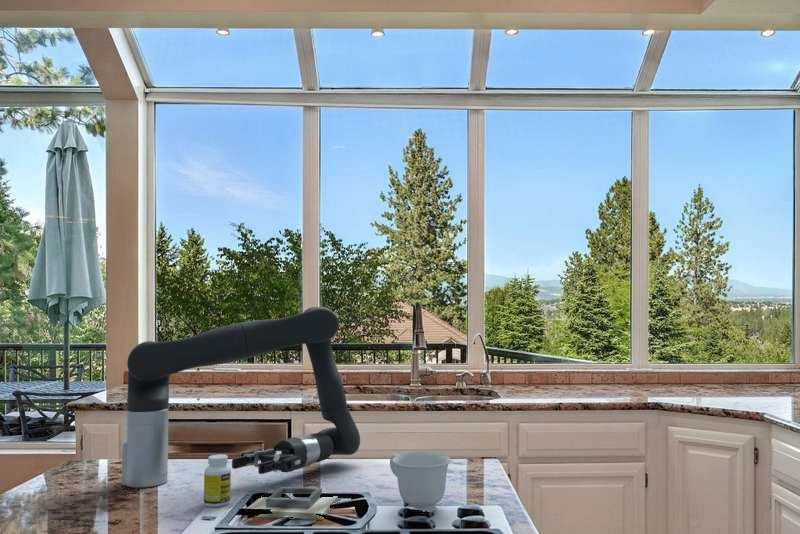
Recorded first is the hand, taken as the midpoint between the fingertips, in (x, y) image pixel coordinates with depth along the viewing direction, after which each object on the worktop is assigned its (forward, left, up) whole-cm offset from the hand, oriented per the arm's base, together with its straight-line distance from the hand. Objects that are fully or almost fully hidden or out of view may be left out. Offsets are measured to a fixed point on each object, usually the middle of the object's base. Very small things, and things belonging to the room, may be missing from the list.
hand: (246, 466), depth 140 cm
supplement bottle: (-3, -7, -6) cm, 10 cm away
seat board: (+14, -7, -6) cm, 17 cm away
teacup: (+39, -4, -6) cm, 39 cm away
